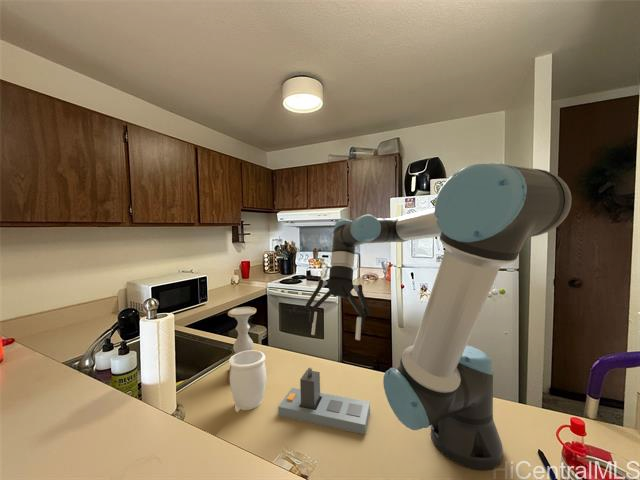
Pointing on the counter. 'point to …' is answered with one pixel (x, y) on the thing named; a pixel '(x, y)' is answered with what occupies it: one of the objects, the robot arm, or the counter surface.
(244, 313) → the candle holder
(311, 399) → the block
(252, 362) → the jar
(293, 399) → the power strip
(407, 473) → the counter surface
